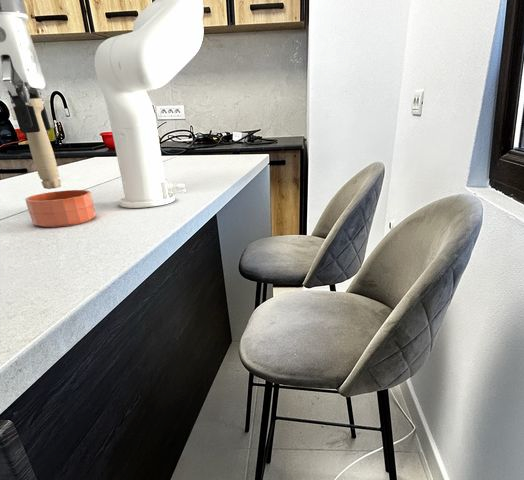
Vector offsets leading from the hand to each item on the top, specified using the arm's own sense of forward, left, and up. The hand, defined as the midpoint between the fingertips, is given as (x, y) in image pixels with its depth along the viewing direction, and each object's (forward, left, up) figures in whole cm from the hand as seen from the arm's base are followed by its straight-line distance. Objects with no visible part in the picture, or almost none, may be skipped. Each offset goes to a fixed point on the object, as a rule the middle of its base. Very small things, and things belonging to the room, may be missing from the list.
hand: (36, 130), depth 79 cm
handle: (0, 0, -10) cm, 10 cm away
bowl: (-1, 0, -16) cm, 16 cm away
